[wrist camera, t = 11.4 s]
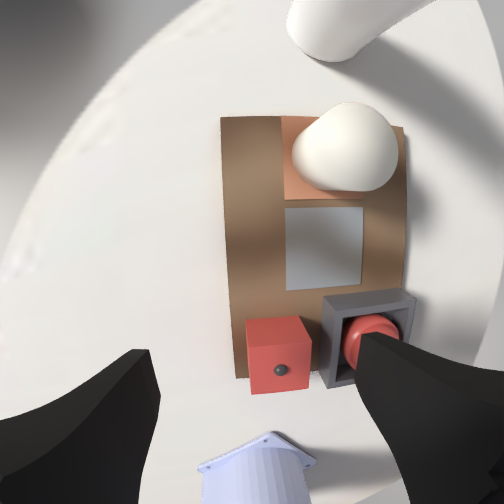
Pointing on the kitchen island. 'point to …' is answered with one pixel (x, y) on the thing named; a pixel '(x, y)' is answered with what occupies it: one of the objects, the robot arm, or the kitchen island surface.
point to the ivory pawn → (346, 150)
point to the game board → (300, 231)
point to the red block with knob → (278, 354)
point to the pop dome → (360, 326)
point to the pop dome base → (354, 304)
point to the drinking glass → (344, 24)
